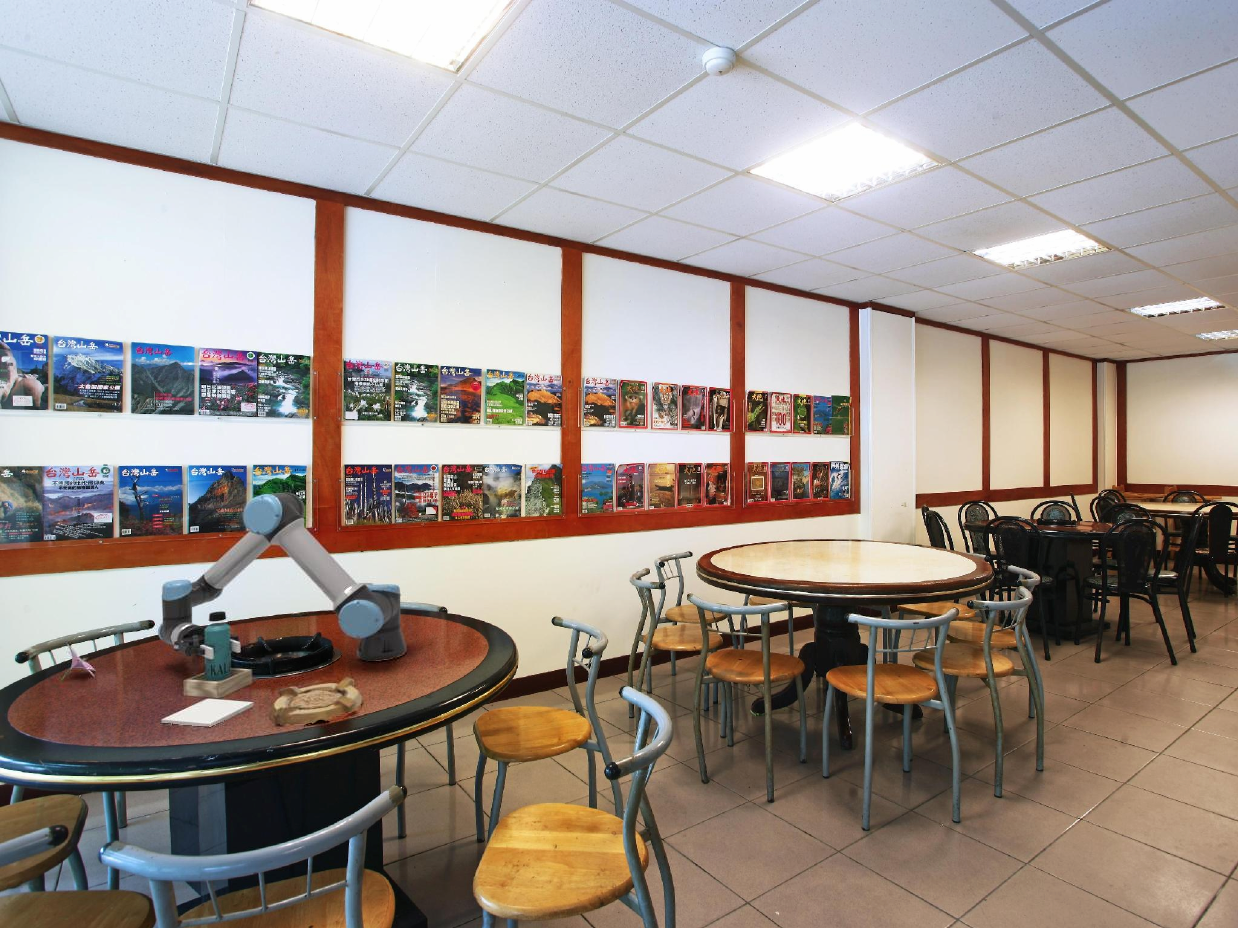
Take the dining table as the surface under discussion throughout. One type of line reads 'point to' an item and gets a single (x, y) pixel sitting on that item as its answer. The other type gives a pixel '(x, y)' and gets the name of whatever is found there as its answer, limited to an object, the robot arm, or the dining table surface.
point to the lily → (78, 663)
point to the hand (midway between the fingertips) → (225, 650)
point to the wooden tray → (217, 684)
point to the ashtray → (315, 703)
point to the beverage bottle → (218, 648)
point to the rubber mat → (208, 712)
